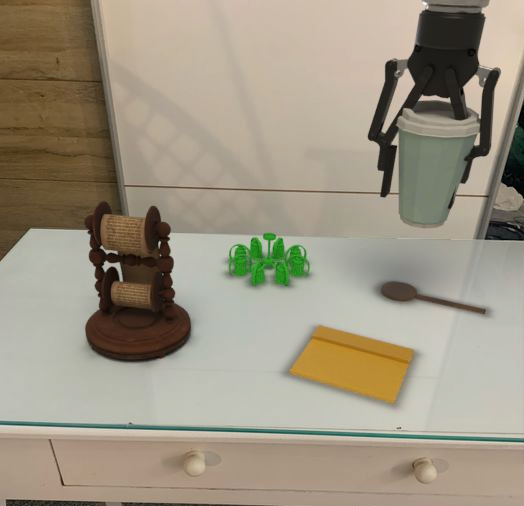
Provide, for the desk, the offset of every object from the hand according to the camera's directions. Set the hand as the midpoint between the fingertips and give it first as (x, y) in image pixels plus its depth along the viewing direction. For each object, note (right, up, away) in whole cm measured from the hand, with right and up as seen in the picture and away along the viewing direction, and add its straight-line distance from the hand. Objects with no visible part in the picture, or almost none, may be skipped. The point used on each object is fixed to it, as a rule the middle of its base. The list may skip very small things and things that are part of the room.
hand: (416, 199), depth 77 cm
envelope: (-9, -23, -1) cm, 25 cm away
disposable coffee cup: (+1, -3, +1) cm, 3 cm away
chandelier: (-20, -7, +22) cm, 31 cm away
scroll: (-39, -19, +4) cm, 44 cm away
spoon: (+6, -13, +14) cm, 20 cm away
